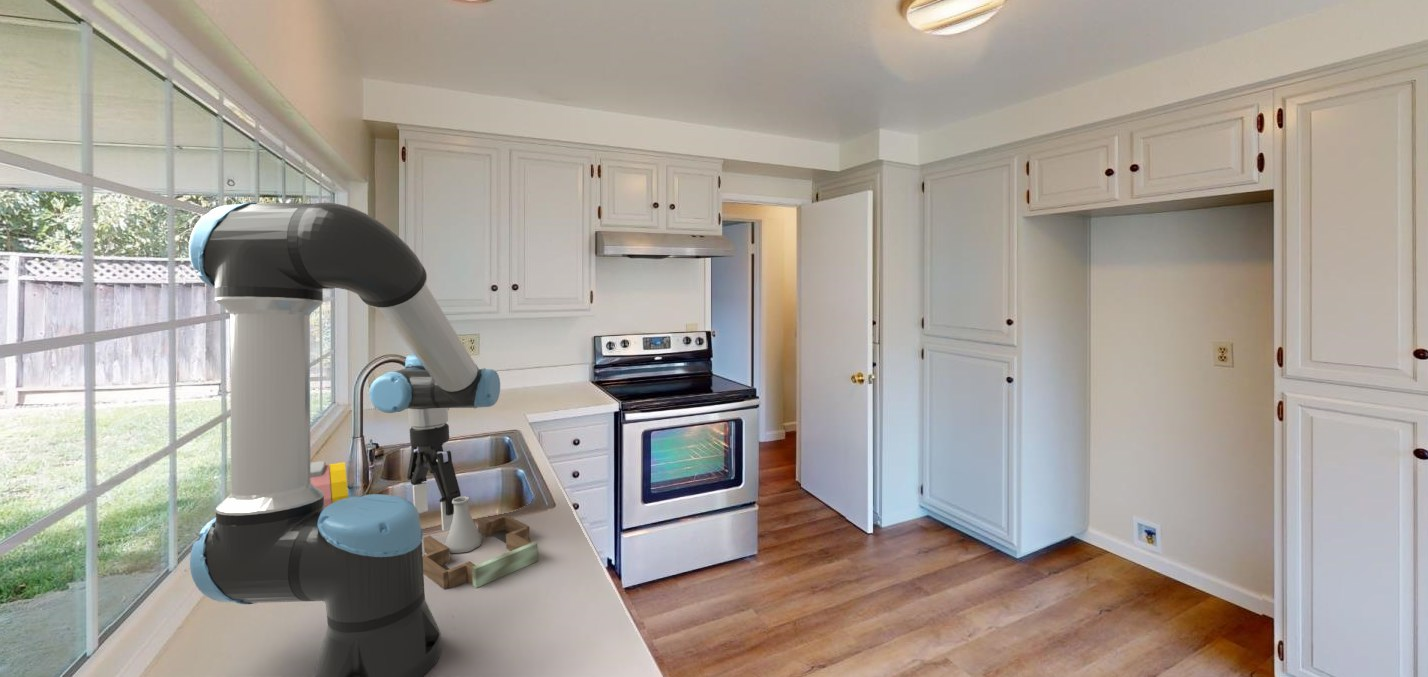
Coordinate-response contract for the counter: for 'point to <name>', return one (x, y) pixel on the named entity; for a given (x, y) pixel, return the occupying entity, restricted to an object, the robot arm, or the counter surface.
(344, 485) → the alarm clock
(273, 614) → the counter surface
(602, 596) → the counter surface
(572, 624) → the counter surface
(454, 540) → the flask
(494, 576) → the box
